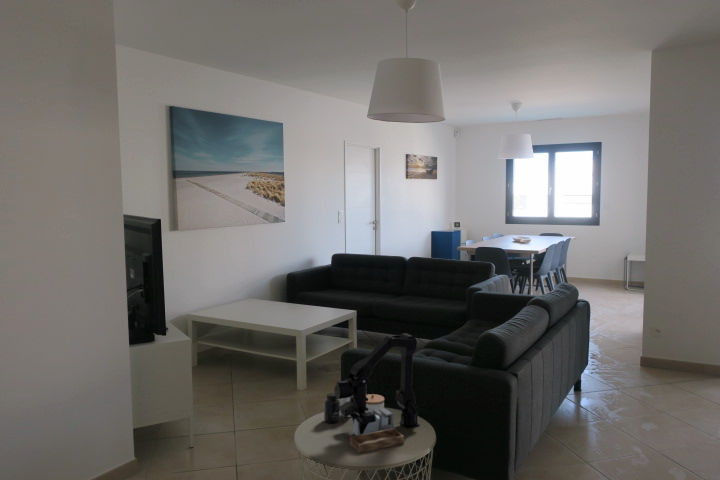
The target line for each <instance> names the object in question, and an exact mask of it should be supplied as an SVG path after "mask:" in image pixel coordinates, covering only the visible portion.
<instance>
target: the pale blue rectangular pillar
mask: <svg viewBox="0 0 720 480" xmlns="http://www.w3.org/2000/svg"><path fill="white" fill-rule="evenodd" d="M381 415H382V426H384V425H388V417H387V416H386V415H384V414H383V413H381ZM377 431H379V416H378V415H376V421H375V422H371V423H368V425H367V427H366V428H365V430H364V432H363V434H367V433H372V432H377ZM353 434H354V436H357V435H362V434H360V430H359V422H358V421H357V420H356V419H354V423H353Z"/></svg>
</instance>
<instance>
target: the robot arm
mask: <svg viewBox="0 0 720 480" xmlns="http://www.w3.org/2000/svg"><path fill="white" fill-rule="evenodd" d="M417 346H418V340H417V338H416V337H415V336H413V335H410V334H409V333H406V332H405V333H401V334H394V335H393V334H392V335H386V336H385V337H384V338H383V340H382V341H381V342H380V343H379V344H378V345H377V346H376V347H375V348H374V349H373V350H372V351H371V352H369V354H368V355H367V356H366V357H364V358H363V359H360V360H358V361H357V362H356V363H354V364H352V366H351V367H350V371H349V372H348V375H347V376H346V377H345V380H343V381H341V380H339V381H336V385H334V388H333V389H334V392H333V393H335V396H336V398H337V400H341V399H342V398H348V397H351V396H352V397H351V398H350V401H349V402H345V404H343V405H341V404H340V406H339V409H340V414H341V416H342V415H343V416H342V417H345V418H348V417H347V416H348V415H350V416H351V418H352V422H353V424H354V419H356V420H357V421H358V422H359V430H360V434H363V432H364V430H365V428H366V427H367V425H368V423H371V422H375V421H376V416H375V415H374V414H372V413H371V412H367V413H366V412H365V411H368V408H367V407H366V401H368V398H367V397H366V395H367V385H371V384H372V382H371V381H370V380H369V376H370V375H371V374H372V372H373V369H374V367H375V366H376V365H377V364H378V362H380V361H381V359H382V358H384V357H385V355H387V353H388V352H389V351H390V350H391V349H392V348H393V347H397V348H398V349H399V351H400V354H401V359H400V360H401V361H400V365H401V366H400V387H399V389H398V390H395V398H394V400H395V401H396V403H397V405H398V406H399V409H402V410H401V413H400V421H399V424H400V425H402V426H404V427H405V428H406V429H410V428H413V427H419V426H420V423H418V416H419V415H418V414H419V413H420V412H421V407H420V406H419V405H418V404H417V403H416V396H415V393H414V391H413V388H412V387H413V361H414V360H413V356H414V354H415V352H416V350H417Z"/></svg>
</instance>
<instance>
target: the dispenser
mask: <svg viewBox="0 0 720 480" xmlns="http://www.w3.org/2000/svg"><path fill="white" fill-rule="evenodd" d="M379 411H380V412H381V414H379V413H378V412H377V411H375V410H373V414H374V415H375V414H377V415H378V416H379V431H382V430H387V429H392V428H394V422H395V421H394V418H395V417H394V414H395V413H393V412H392V411H390V410H388V409H387V408H385V407H384V408H383V409H379ZM382 414H384V415H386V416H387V417H388V425H384V426H382ZM394 429H395V428H394Z"/></svg>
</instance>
